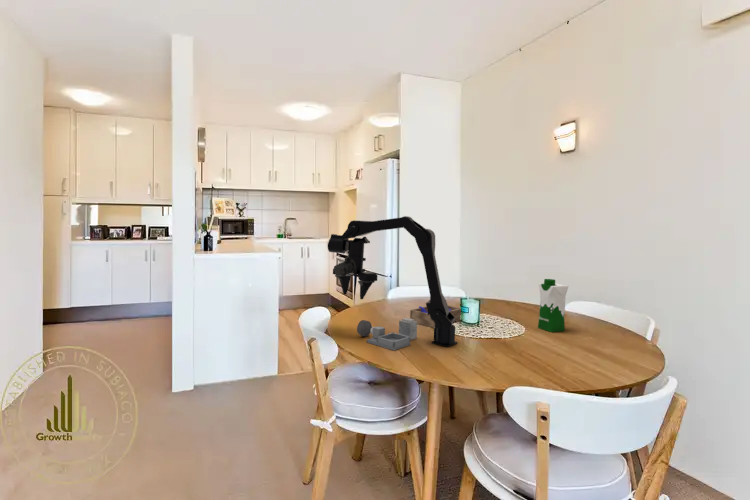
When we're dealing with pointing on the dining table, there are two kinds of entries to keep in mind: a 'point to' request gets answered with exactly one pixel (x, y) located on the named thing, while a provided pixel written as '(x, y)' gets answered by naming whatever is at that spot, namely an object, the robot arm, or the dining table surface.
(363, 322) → the wheel
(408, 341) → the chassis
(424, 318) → the toy corral
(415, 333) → the block
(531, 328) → the dining table surface
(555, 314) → the milk carton
